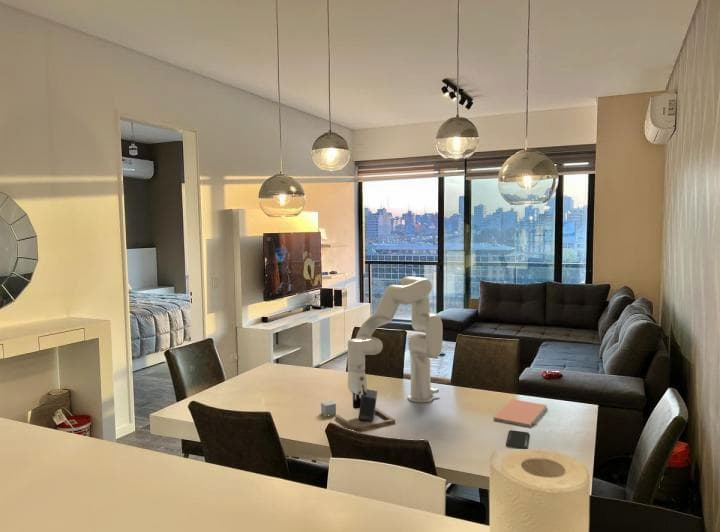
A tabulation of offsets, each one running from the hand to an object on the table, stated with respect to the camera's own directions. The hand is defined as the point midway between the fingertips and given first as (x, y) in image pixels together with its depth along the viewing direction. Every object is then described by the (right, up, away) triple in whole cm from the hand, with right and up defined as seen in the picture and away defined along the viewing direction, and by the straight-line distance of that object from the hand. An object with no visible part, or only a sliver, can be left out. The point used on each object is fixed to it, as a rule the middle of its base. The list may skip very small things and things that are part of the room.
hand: (356, 407), depth 229 cm
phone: (+63, -6, -28) cm, 69 cm away
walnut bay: (+3, -4, -5) cm, 7 cm away
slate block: (-13, -4, +4) cm, 14 cm away
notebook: (+73, -3, 0) cm, 73 cm away
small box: (+4, -4, -1) cm, 6 cm away
